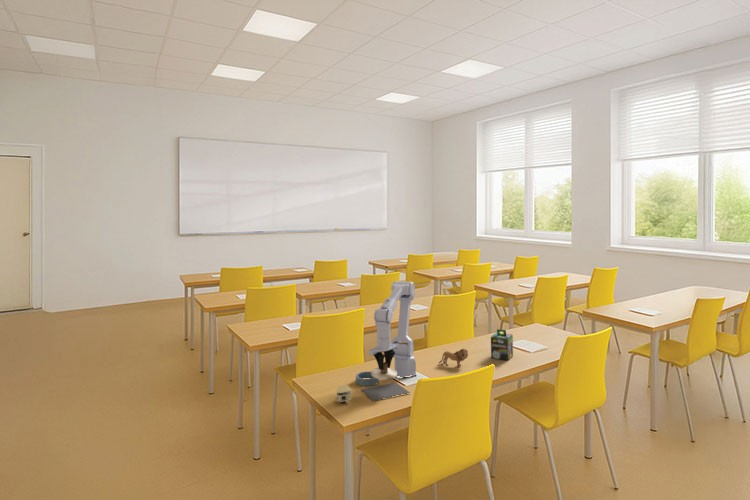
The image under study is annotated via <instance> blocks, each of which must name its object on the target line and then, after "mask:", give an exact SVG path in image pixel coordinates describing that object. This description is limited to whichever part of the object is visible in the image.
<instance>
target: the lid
mask: <svg viewBox="0 0 750 500" xmlns="http://www.w3.org/2000/svg"><path fill="white" fill-rule="evenodd" d="M370 371H371V376H372V377H374V378H376V379H379V381H380V380H384V381H385V380H386V381H387V380H393V379H395V378H397V377H396V376H397V371H396V370H395V368H391V367H390V368H388V363H386V362H385V361H384V362H383V370H380V369H379V367H376V368H374V369H372V370H370Z"/></svg>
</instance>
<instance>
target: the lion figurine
mask: <svg viewBox="0 0 750 500" xmlns="http://www.w3.org/2000/svg"><path fill="white" fill-rule="evenodd" d="M468 357H469V353H468V349H466V348H461V349H460V350H457V351H456V352H451V351H450V350H447V351H444V352H443V354H442V358H441V360H440V361H439V362H438V364H441V363H442V362H443V364H445V366H446V367H448V366H449V363H448V360H449V359H450V360H451V361H452V362H453V361H454V362H456V363H457V364H456V366H457V368H458V369H460V368H461V366H462V364H461V362H463V361H464V360H466V359H467V358H468Z"/></svg>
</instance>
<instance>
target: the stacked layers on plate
mask: <svg viewBox="0 0 750 500" xmlns="http://www.w3.org/2000/svg"><path fill="white" fill-rule="evenodd" d="M351 391H352V389H351V387H350V386H349V385H340V386H337V389H336V392H337V393H336V401H337V402H340V403H342V402H345V404H346V403H349V402H350V403H351V400H352V397H351V395H352V392H351ZM350 403H349V404H350Z"/></svg>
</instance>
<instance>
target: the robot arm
mask: <svg viewBox="0 0 750 500" xmlns="http://www.w3.org/2000/svg"><path fill="white" fill-rule="evenodd" d="M390 289H391V293H390V295H389V297H386V298H385V299H384V301H383V302H382V305H381V306H380V307H379V308H377V309H376V310H374V313H373V314H374V316H373V320H374V322H375V327H376V346H375V347H373V348H371V349H368V355H369V356H373V357H374V358H375V360H376V363H377V365H378V367H377V368H379V369H380V370H383V362H386V363H388V368H391V365H392V361H393V359H394V370H396V371H397V376H400V377H405V376H410V375H412V376H413V377H415V376H414V375H417V371H416V370H417V368H416V363H417V362H416V358H415V357H414V355H413V354H414V352H415V350H414V349H415V348H414V340H413V339H412V338H411V337H410V336H409V326H410V313H411V303H412V301H414V299H415V295H416V294H415V293H416V286H415V283H414V282H413V281H396V280H393V282H392V284H391V288H390ZM398 301H399V311H398V312H399V315H398V326H397V335H396V336H395V337H393V338H392V337H391V323H392V320H393V316H394V311H395V310H396V308H397V306H398V303H397V302H398ZM391 339H392V340H391Z"/></svg>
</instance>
